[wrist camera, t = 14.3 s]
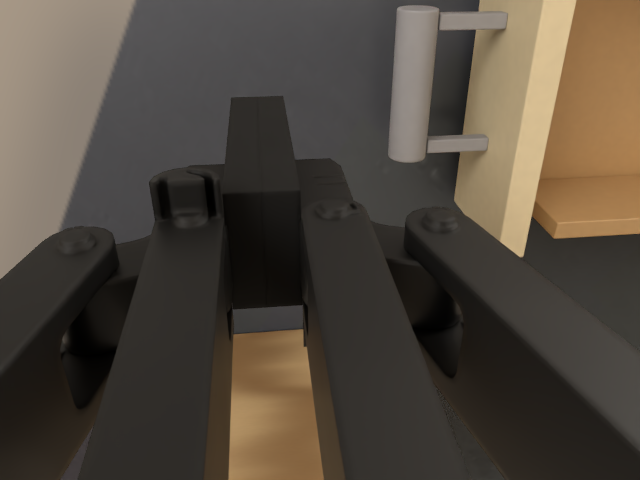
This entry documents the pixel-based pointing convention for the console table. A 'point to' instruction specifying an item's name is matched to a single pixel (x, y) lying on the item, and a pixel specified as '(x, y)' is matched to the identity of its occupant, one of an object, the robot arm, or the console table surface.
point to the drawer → (532, 114)
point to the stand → (272, 409)
